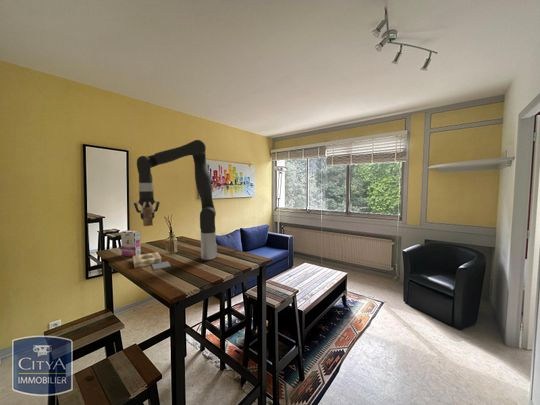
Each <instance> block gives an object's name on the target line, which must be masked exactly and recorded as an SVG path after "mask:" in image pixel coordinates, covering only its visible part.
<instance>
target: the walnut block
mask: <svg viewBox="0 0 540 405" xmlns="http://www.w3.org/2000/svg"><path fill="white" fill-rule="evenodd" d="M152 207H153V206H152ZM152 207H145V208H144V207H143V218H144V220H142V223H143V227H149V226H150V227H151V226H152V227H153V223H154V222H153V219H152Z"/></svg>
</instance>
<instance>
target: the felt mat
mask: <svg viewBox="0 0 540 405" xmlns="http://www.w3.org/2000/svg"><path fill="white" fill-rule="evenodd" d="M151 267H152V269H153V270H154V271H159V270H162V269H163V270H164V269H167V268H172V265H171V263H170V262H169V261H163V262H161V263H156V264H152V265H151Z"/></svg>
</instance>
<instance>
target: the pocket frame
mask: <svg viewBox="0 0 540 405" xmlns="http://www.w3.org/2000/svg"><path fill="white" fill-rule="evenodd" d="M162 259H163V258H162V256H161V255H160V253H159V252H158V251H156V252H150V253H143V254H142V253H141V255H136V256H133V257H132V261H133V262H132V263H133V265H134V266H133V267H134V269H136V268H137V269H138V268H143V267H149V266H152V264H156V263H161V262H162Z"/></svg>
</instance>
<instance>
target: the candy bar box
mask: <svg viewBox="0 0 540 405" xmlns="http://www.w3.org/2000/svg"><path fill="white" fill-rule="evenodd" d="M120 238H121V239H120V241H121V242H120V243H121V246H120V247H121V256H122V257H129V258H130V257H131V258H133V256H136V255H142V249H141V248H142V247H141V246H142V245H141V243H142V242H141V231H140V230H127V229H126V230H122V231H120Z"/></svg>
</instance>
